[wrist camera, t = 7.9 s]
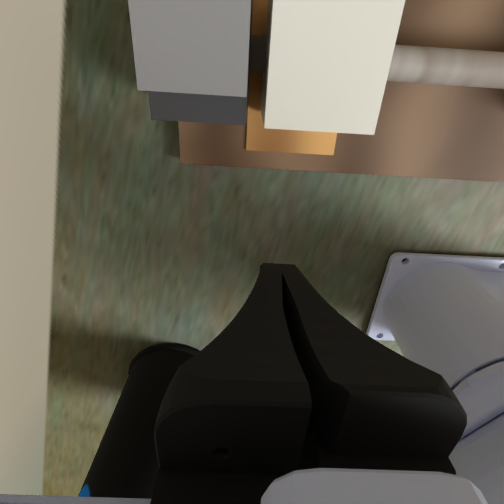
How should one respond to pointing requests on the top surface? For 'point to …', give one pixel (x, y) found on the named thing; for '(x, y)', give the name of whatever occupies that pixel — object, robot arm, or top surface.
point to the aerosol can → (135, 427)
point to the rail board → (390, 105)
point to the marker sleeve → (328, 63)
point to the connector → (193, 58)
